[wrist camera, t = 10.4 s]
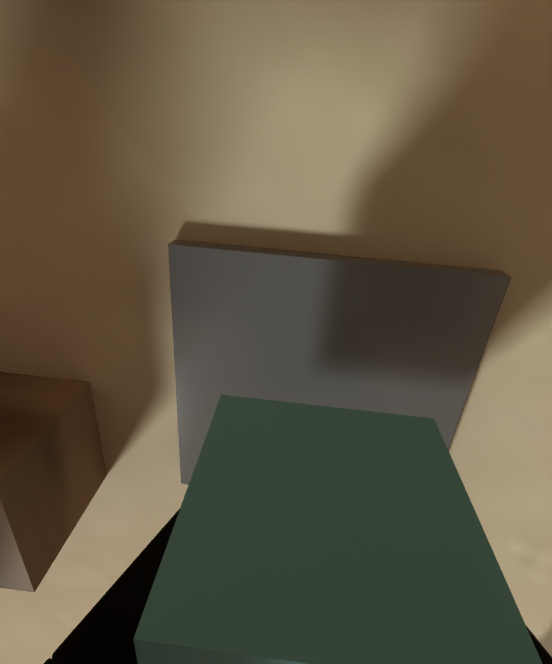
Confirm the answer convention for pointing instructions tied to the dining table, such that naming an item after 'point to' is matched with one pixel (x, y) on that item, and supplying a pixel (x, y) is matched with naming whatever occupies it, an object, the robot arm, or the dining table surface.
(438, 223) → the dining table surface
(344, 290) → the slate tile
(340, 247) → the dining table surface
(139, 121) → the dining table surface
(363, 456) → the teal cube
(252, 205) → the dining table surface
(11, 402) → the walnut cube
